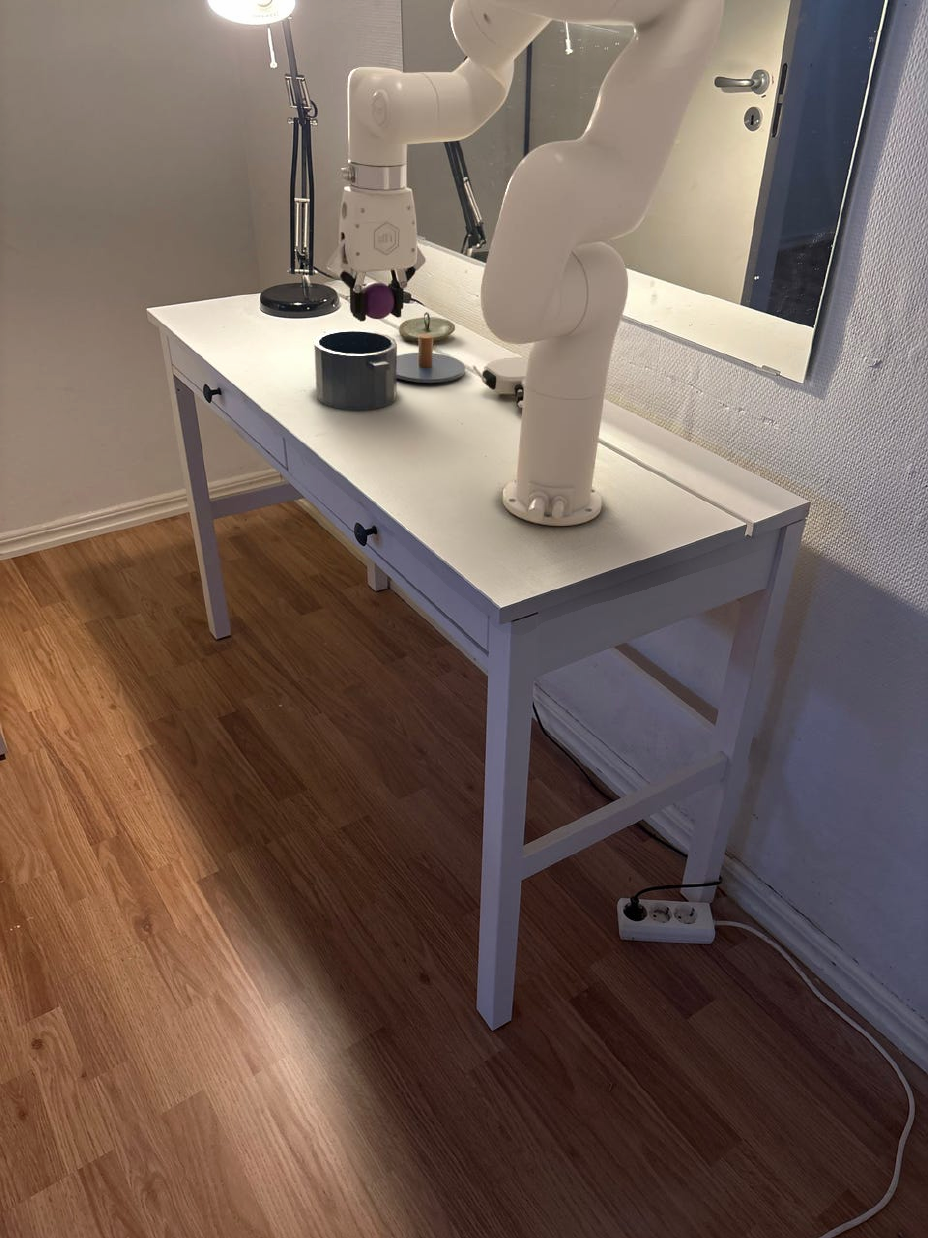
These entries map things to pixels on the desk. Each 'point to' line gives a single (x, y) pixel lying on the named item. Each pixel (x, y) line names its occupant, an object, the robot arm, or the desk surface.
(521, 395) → the robot toy
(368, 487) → the desk surface
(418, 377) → the pot lid
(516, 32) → the robot arm
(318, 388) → the pot
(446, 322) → the lid
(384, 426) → the desk surface
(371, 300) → the purple ball
